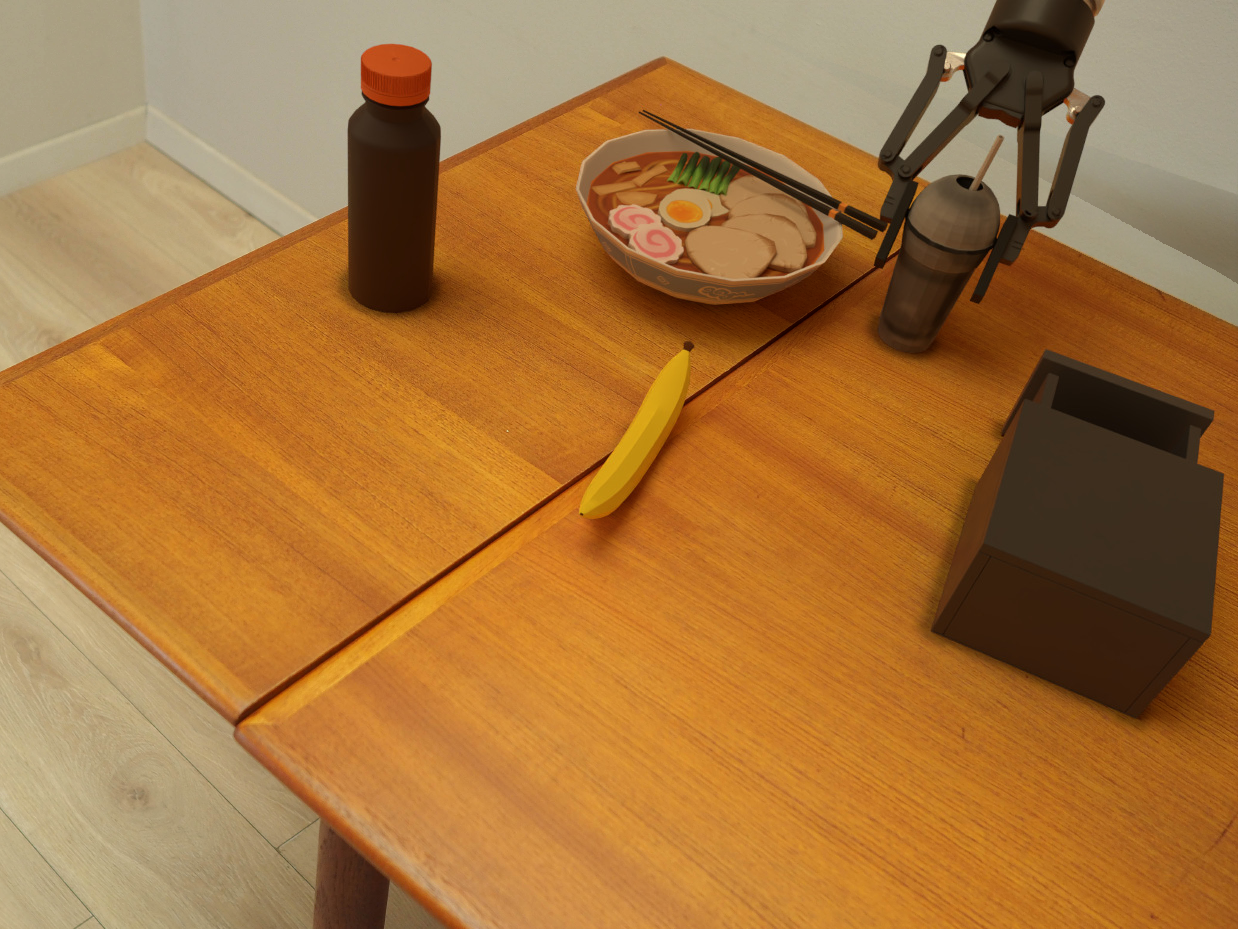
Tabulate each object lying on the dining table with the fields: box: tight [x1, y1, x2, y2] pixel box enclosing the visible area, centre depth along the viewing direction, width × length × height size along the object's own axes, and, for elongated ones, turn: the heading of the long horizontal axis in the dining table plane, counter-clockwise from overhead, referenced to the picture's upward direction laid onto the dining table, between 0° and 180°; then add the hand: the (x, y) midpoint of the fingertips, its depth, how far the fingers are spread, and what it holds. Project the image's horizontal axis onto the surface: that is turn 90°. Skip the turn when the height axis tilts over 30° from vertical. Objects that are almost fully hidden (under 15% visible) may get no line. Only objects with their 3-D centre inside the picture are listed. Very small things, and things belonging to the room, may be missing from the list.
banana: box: [578, 340, 695, 520], centre depth 82 cm, size 3×19×6 cm, turn 154°
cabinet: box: [930, 399, 1225, 720], centre depth 78 cm, size 16×14×10 cm
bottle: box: [347, 43, 442, 314], centre depth 88 cm, size 7×7×20 cm
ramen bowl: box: [575, 109, 889, 306], centre depth 100 cm, size 25×23×8 cm
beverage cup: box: [876, 134, 1005, 354], centre depth 92 cm, size 7×7×20 cm
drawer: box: [1000, 348, 1215, 464], centre depth 85 cm, size 19×12×8 cm, turn 155°
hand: (927, 280), depth 91 cm, fingers closed on beverage cup, 7 cm apart
